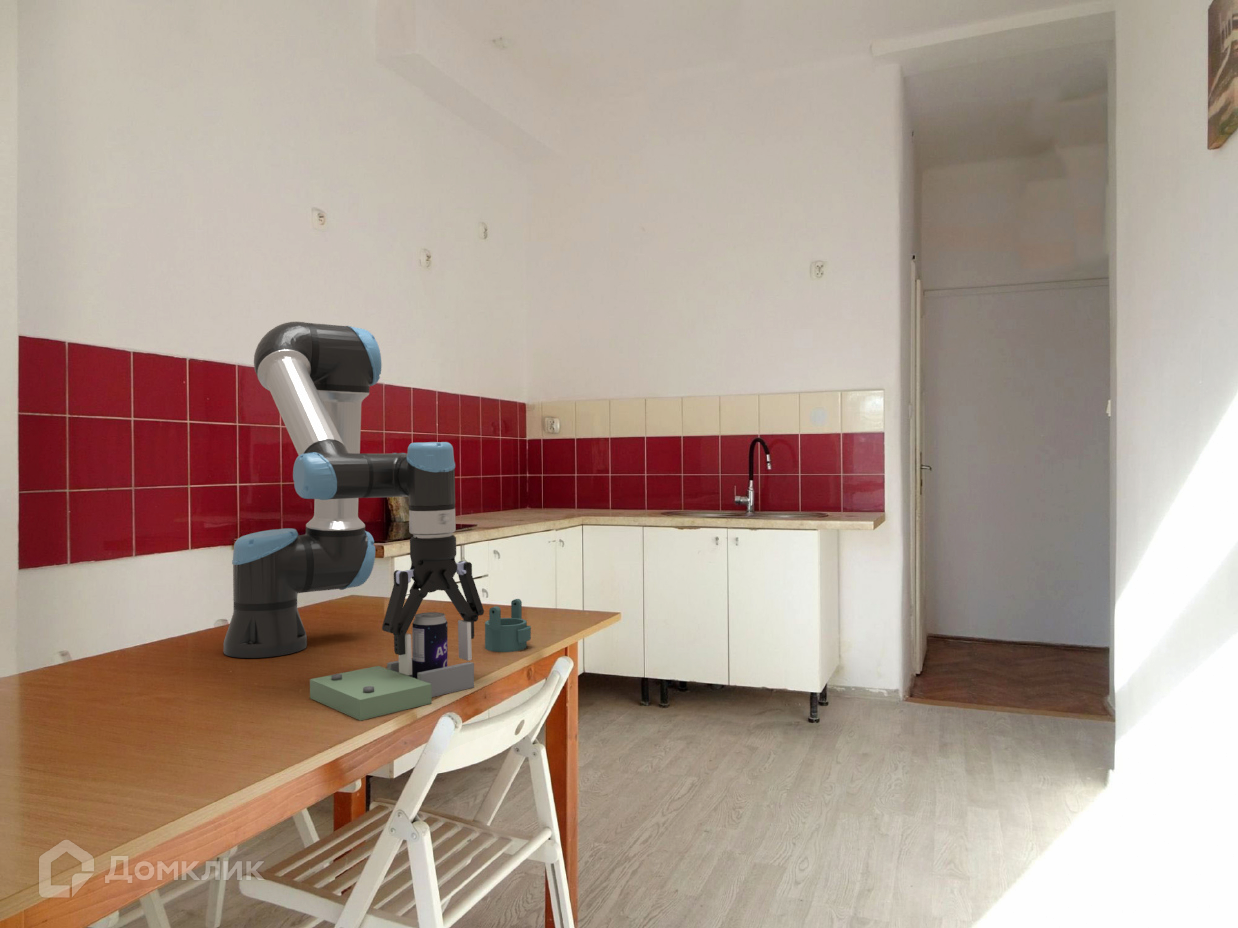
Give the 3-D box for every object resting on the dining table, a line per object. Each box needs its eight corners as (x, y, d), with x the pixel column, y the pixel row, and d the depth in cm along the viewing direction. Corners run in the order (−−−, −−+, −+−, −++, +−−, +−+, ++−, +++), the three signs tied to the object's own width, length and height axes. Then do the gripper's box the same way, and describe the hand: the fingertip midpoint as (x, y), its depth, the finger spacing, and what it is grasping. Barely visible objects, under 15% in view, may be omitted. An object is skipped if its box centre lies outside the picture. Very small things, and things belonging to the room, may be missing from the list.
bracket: (489, 654, 164) (490, 607, 164) (480, 643, 172) (481, 599, 172) (535, 650, 167) (535, 605, 167) (524, 640, 176) (524, 597, 175)
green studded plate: (309, 698, 134) (309, 672, 134) (429, 672, 150) (429, 650, 149) (360, 720, 123) (360, 692, 123) (484, 690, 138) (484, 666, 138)
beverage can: (439, 692, 137) (439, 618, 137) (406, 690, 138) (406, 617, 138) (452, 683, 143) (452, 612, 142) (421, 681, 144) (421, 611, 144)
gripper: (381, 544, 129) (385, 686, 130) (503, 529, 146) (505, 655, 147) (356, 540, 135) (360, 676, 135) (477, 527, 151) (479, 648, 152)
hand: (436, 666), depth 141 cm, fingers open, 11 cm apart
